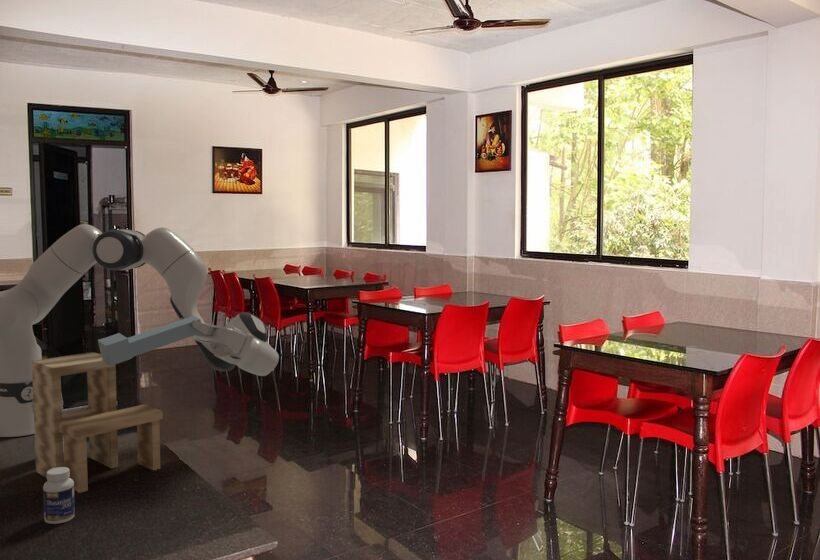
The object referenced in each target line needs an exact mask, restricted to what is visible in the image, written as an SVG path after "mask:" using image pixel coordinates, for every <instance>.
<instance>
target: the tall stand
mask: <svg viewBox="0 0 820 560" xmlns="http://www.w3.org/2000/svg"><path fill="white" fill-rule="evenodd" d="M116 366H117V364H115V365H112V366H110V365H109V364H107V363H106V362H104V361H103V360H102V356H101V353H98V352H93V351H91V352H85V353H83V352H82V353H77V354H70V355H62V356H57V357H55V356H54V357H50V358H42V359H41V360H34V361H32V378H33V405H34V431H35V434H34V457H35V472H36V473H37V474H39V475H41V476H42V477H44V478H46V479H47V471H48V470H50V469H53V468H58V467H64V453H63V433H61V432H59V423H60V422H64V421H69V420H74V419H78V418H83V417H88V416H92V415H97V414H102V413H106V412H111V411H116V410H118V409H117V407H118V406H117V376H116V375H117V371H116ZM81 373H86V376H87V378H86V379H87V383H86V384H87V407H86V408H79V409H75V410H70V411H65V412H63V410H62V401H61V393H62V380H61V379H62V377H64V376H69V375H76V374H81ZM118 443H119V442H118V430H114V431H110V432H106V433H102V434H98V435H93V436H89V437H88V444H89V445H88V446H89V449H88V450H89V458H90V459H91V460H93V461H96V462H97V461H98V462H97V463H99V462H100V463H99V464H101V463H102V465H103V464H104V466H105V465H106V466H105V467H107V466H108V468H110V469H116V468H118V467H119V449H118V448H119V447H118V445H119V444H118ZM115 467H116V468H115Z"/></svg>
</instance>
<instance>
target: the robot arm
mask: <svg viewBox="0 0 820 560" xmlns="http://www.w3.org/2000/svg"><path fill="white" fill-rule="evenodd" d="M96 264H99V265H100V266H101V267H103V268H104V269H106V270H110V271H128V270H132V269H138V268H141V267H142V266H144V265H146V264H147V265H150V266H151V267H152V268H153V269H154V270H155V271H156V272H157V273H158V274H159V275H160V276H161V277H162V279H163V280H164V281H165V282H166V284H167V286H168V287H169V288H168V289H169V291H170V298H169V302H170V304H171V307H172V308H173V310H174V312H175V313H176V315H177V316H178V318H179V320H182V319H185V318H188V317H191V316H195V317H197V318H199V319H200V321H201V322H199V321H195V320H193V321H192V323H191V325H190V326H191V327H192V328H194V329H197V330H199V331H201V332H202V333H199V334H196V335H193V336H190V337H189V339H193V341H194V342H195V343H196V345H197V346H198V348H199V350H200V352H201V354H202V357H203V359H204V360H205V361H206V363H207V364H208V365H209V366H210V367H211V368H212V369H213V370H216V371H219V372H221V371H223V372H227V371H228V372H229V371H232V370H233V369H234V368H235V367H236V366H237V367H239V369H240V370H242V371H245V372H248V373H250V374H252V375H255V376H259V377H266V376H268V375H269V374H270V373H271V372H273V371H274V370H276V368H277V365H278V363H279V359H280V355H279V353H278V352H277V350H276V349H275V348H274V347H272V346H271V345H270V343H269V342H268V336H267V335H268V334H267V327H266V324H265V322H264V321H263V320H262V319H261V318H259V317H258V316H256V315H255V314H254V313H250V312H239V313H238V314H236V315H235V317H233V319H231V320H230V321H228V323H227V324H226V325H225V326H224V327H223V326H219V325H214V324H209V323H206V322H205V321H204V319H203V317H202V316H201V314H200V313H199V311H198V301H199V298H200V295H201V292H202V291H203V288H204V286H205V283H206V280H207V274H208V271H207V266H206V263H205V261H204V260H203V258H201V257H200V255H199V254H198V253H197V252H196V251H195V250H194V249H193V248H192V246H190V245H189V243H187V242H186V240H184V239H183V238H182V237H180V235H178V234H177V233H175V232H174V231H172V230H171V229H170V228H167V227H162V226H161V227H157V228H154V229H153V230H151V231H150V232H148V233H147V234H144V233H142V232H141V231H138V230H132V229H128V228H125V229H124V228H122V229H110V230H107V231H104V232H102V231H101V230H100V229H98V228H97V227H96V226H93V225H91V224H87V223H83V224H79V225H76V226H75V227H73V228H72V229H70V230H68V231H67V232H66V233H65V234H63V235H62V236H60V237H59V238H58V239H56V241H54V243H52V244H51V245H50V246H49V247H48V248H47V249H46V250H44V252H43V253H42V254H40V255H39V257H37V259H36V260H35V261H33V262H32V263H31V265H30V266H29V270H28V271H27V272H26V274H25V275H24V277H23V278H22V279H21V280H20V281H19V283H17V284H16V285H15V286H13V287H11V288H8V289H6V290H2V291H1V290H0V438H15V437H23V436H24V437H25V436H30V435H35V431H34V413H33V408H32V402H33V378H32V361H34V360H41V359H43V357H42V356H43V355H42V352H43V351H42V348H41V347H40V345H39V344H38V343H37V340H36V337H35V334H34V329H33V325H35V324H38V323H39V322H40V321H42V320H43V319H45V317H46V316H47V315H48V314H49V312H51V310H52V309H53V308H54V307H55V306H56V305H57V303H58V302H59V301H60V299H61V298H62V297H63V296H64V295H65V293H66V292H67V291H68V290H70V288H72V287H73V286H74V285H75V284H76V283H77V282H78V281H79V280H80V279H81V278H83V276H85V274H86V273H87V272H88V271H89V270H90V269H91V268H92V267H93V266H95V265H96Z"/></svg>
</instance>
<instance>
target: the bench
mask: <svg viewBox="0 0 820 560" xmlns="http://www.w3.org/2000/svg"><path fill="white" fill-rule="evenodd" d="M163 411H164V410H161V409H159V408H157V407H153V406H152V405H149V404H145V403H143V404H140V405H136V406H130V407H124V408H121V409H117V410H116V411H111V412H106V413H102V414H97V415H92V416H88V417H83V418H78V419H74V420H69V421H64V422H60V423H59V432H61V433H63V442H64V453H63V460H64V467H67V468H69V470H70V476H69V478H71V479H72V480H73V481H74V492H75V491H76V492H77V493H78V494H81V493H84V492H87V491H89V489H88V488H89V487H88V483H89V482H88V481H89V480H88V454H87V453H88V451H87V450H88V449H87V447H88V446H87V438H89V436H93V435H98V434H102V433H106V432H110V431H114V430H117V431H119V430H122V429H126V428H130V427H135V426H136V435H137V437H136V439H137V440H136V441H137V445H136V446H137V464H138V463H139V464H141V465H140V466H142V465H143V466H142V467H144V466H145V467H144V468H146V467H147V468H146V469H148V468H149V469H148V470H150V469H151V470H150V471H152V470H153V471H152V472H154V470H155V471H158V470H157V469H159V470H161V440H160V439H161V434H160V433H161V432H160V428H161V427H160V420H163V419H164V414H163V413H164V412H163ZM139 464H138V465H139Z"/></svg>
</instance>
